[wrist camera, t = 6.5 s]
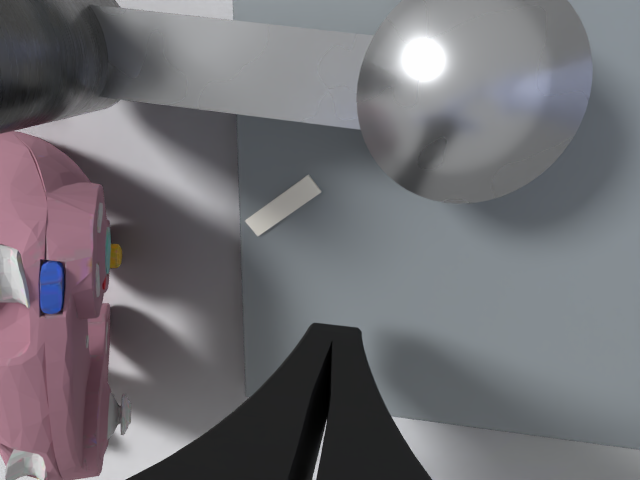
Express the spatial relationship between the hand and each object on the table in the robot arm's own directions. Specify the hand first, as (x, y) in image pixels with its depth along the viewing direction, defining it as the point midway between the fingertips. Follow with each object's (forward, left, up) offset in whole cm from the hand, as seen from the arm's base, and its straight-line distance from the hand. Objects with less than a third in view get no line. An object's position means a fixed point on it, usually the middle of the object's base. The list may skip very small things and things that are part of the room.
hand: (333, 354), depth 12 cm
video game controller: (+9, 0, -3) cm, 9 cm away
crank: (+2, -7, -2) cm, 8 cm away
